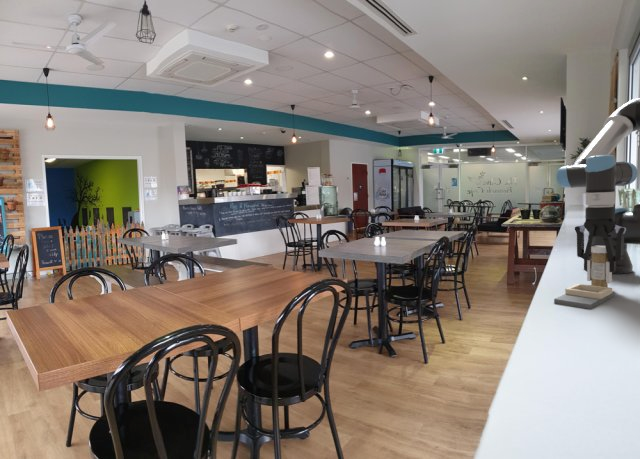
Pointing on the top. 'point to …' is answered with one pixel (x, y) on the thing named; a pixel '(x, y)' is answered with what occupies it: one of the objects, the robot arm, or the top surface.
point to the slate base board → (584, 296)
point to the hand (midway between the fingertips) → (599, 281)
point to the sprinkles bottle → (599, 266)
